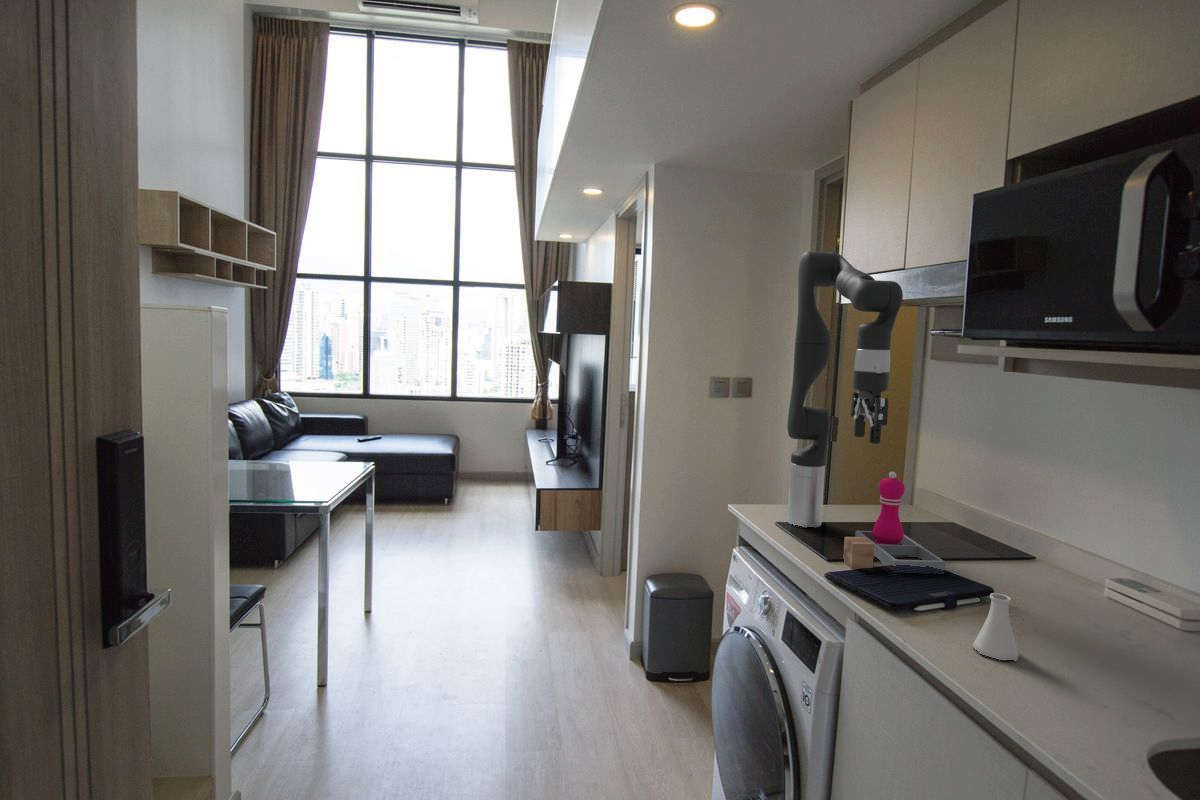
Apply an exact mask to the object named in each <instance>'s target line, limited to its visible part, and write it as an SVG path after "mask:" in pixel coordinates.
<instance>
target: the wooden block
mask: <svg viewBox="0 0 1200 800" xmlns="http://www.w3.org/2000/svg"><path fill="white" fill-rule="evenodd" d="M874 545H875V544H874V543H872V542H871V541H870V540H869V539H867V538H866V537H855V536H844V542H843V555H842V560H843V559H844V562H845V563H844V562H843V563H844V564H845V565H846V566H848V568H850V569H851V570H853V569H855V570H860V569H859V568H873V569H874V559H875V558H874Z"/></svg>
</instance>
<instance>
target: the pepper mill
mask: <svg viewBox="0 0 1200 800" xmlns="http://www.w3.org/2000/svg"><path fill="white" fill-rule="evenodd" d="M905 489H906V488H905V484H904V482H902V480H901V479H899V478H897V473H896V472H894V471H890V472H889V473H888V477H886V478H883V479H881V480H880V482H879V483H878V491H879V493H880V494H881V495H880V496H879V498H880V499H879V502H880V503H881V506H880V507H881V508H880V513H879V516H878V518H877V519H876V521H875V523H874V525H873V527H872V531H873V535H874V537H875V538H876V540H875V541H874V543H875V544H887V545H900V544H899V542H900V541H901V540H902V539H903V537H904V535H905V533H904V532H905V531H904V527H903V525H902V522H901V519H900V517H899V516H900V515H899V514H900V513H899V511H900V509H899V508H900V506H901V505H902V496H903V495H904V494H905V492H906V491H905Z"/></svg>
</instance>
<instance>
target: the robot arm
mask: <svg viewBox="0 0 1200 800" xmlns="http://www.w3.org/2000/svg"><path fill="white" fill-rule="evenodd" d="M797 276H798V279H797V283H798V284H797V285H798V287H797V294H798V295H797V300H798V301H797V321H796V330H795V339H794V351H793V374H792V375H793V376H792V386H791V394H790V400H789V407H788V415H787V422H786V423H787V424H786V425H787V434H788V436H789V438H791V439H794V440H805V441H806V440H807V441H808V440H809V441H811V442H810V444H809V445H807V446H806V447H803V448H800V449H797V450H795V451H793V452H792V453H791V455H790V469H789V471H790V472H789V488H788V489H789V491H788V506H787V518H786V519H787V520H786V521H787V523H788V524H790V525H792V524H793V525H792V526H795V525H798V526H797V527H799V526H802V527H801V528H807V527H814V528H818V527H821V526H822V515H823V503H824V488H825V475H826V474H825V473H826V471H825V469H826V458H827V451H828V440H829V433H830V425H831V424H830V423H831V419H830V413H829V410H828V409H827V408H826V407H823V406H804V405H805V400H806V397H807V394H808V392H809V390H810V389H811V387H812V385H814V382H815V381H816V380H817V379H818V377H819V376H820V375H821V374H822V373H823V371H824V370H825V368H826V366H827V365H828V363H829V361H830V353H831V342H832V340H831V338H832V337H831V333H830V331H829V328H828V326H827V324H826V322H825V321H824V319H823V317H822V316H821V313H820V311H819V309H818V306H817V303H816V298H815V287H816V288H831V287H836V290H837V291H838V293H839V294H840V295H841V296H842V297H844V298H846V299H848V301H850V303H851V305H852V307H853V308H854V309H855V310H857V311H860V312H863V313H864V312H866V313H879V314H878V316H877V317H876V319H875V320H873V321H869V322H865V323H862V324H860V325H859V327H858V330H857V340H856V352H855V356H854V363H853V364H854V366H853V381H852V388H853V390H856V391H853V393H852V399H851V409H850V410H851V411H850V417H851V418H853V421H854V430H853V433H854V434H853V436H854V437H855V438H864V437H865V433H866V432H865V431H866V420H867V419H868V420H869V425H870V427H869V439H868V442H869V443H870V444H873V445H875V444H876V445H877V444H880V442H881V434H882V428H883V427H884V426H887V425H888V415H889V414H888V412H889V398H887V397H882V393H883V392H888V390H889V384H890V382H889V381H890V369H891V341H892V332H893V328H894V325H895V322H896V320H897V316H898V313H899V311H900V310H901V309H900V308H901V306H902V303H903V299H904V298H903V297H904V293H903V292H904V291H903V289H902V287H901V284H899V283H898V282H897V281H893V280H877V279H875V278H874V277H873V276H872V275H870V274H868V273H866V272H865V271H862V270H859V269H857V268H855V267H854V266H853V265H852V264H851V263H850V262H849V261H848V260H847V259H846V258H845V257H844V256H843V255H841V254H840V253H837V252H833V251H812V250H811V251H806V252H804V253H803V254H802V255H801V257H800V260H799V263H798V273H797Z"/></svg>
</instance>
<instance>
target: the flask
mask: <svg viewBox="0 0 1200 800" xmlns="http://www.w3.org/2000/svg"><path fill="white" fill-rule="evenodd" d="M989 599H990V601H991V602H990V608H989V611H988V614H987V617H986V619H985V621H984V623H983V625H982V627H981V629H980V631H979V632H978V634H977V636H976V638H975V640H974V642H973V643H972V645H971V647H972V646H973V648H975V650H974V651H976V650H977V651H978V652H979V653H980V654H983V655H986V656H989V657H993V658H998V659H1007V660H1017V659H1018V660H1019V658H1018V656H1019V657H1020V652H1019V651H1020V650H1019V648H1018V645H1017V641H1016V638H1015V635H1014V632H1013V629H1012V625H1011V624H1012V623H1011V622H1010V621H1011V620H1010V613H1009V607H1010V603H1011V602H1012V597H1010V596H1008V595H1007V594H1004V593H1003V594H1002V593H996V592H995V593H994V592H992V593H990V594H989ZM973 648H972V649H973ZM977 651H976V652H977ZM978 652H977V653H978ZM979 653H978V654H979ZM980 654H979V655H980ZM986 656H985V657H986ZM989 657H988V658H989ZM993 658H992V659H993ZM1018 660H1017V661H1018Z"/></svg>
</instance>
